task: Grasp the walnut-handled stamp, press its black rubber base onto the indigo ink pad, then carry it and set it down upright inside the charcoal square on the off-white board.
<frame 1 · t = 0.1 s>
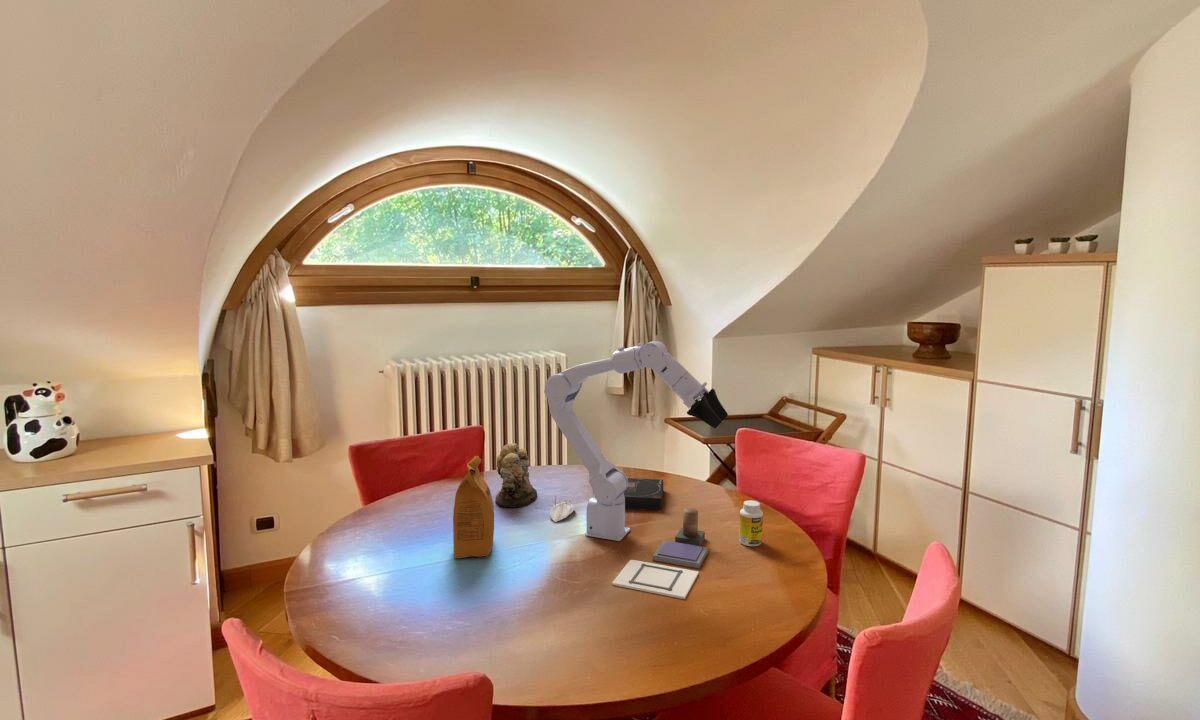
hand: (721, 421, 148), 32 cm above the table, tool tilted 50°, fingers open, 7 cm apart
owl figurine: (516, 499, 188), on the table
ink pad: (680, 556, 150), on the table
stamp: (690, 541, 158), on the table
portable cd player: (633, 501, 188), on the table
marked board: (656, 579, 139), on the table
supplement bottle: (750, 543, 158), on the table
pincushion: (562, 516, 176), on the table
coffee package: (475, 550, 154), on the table
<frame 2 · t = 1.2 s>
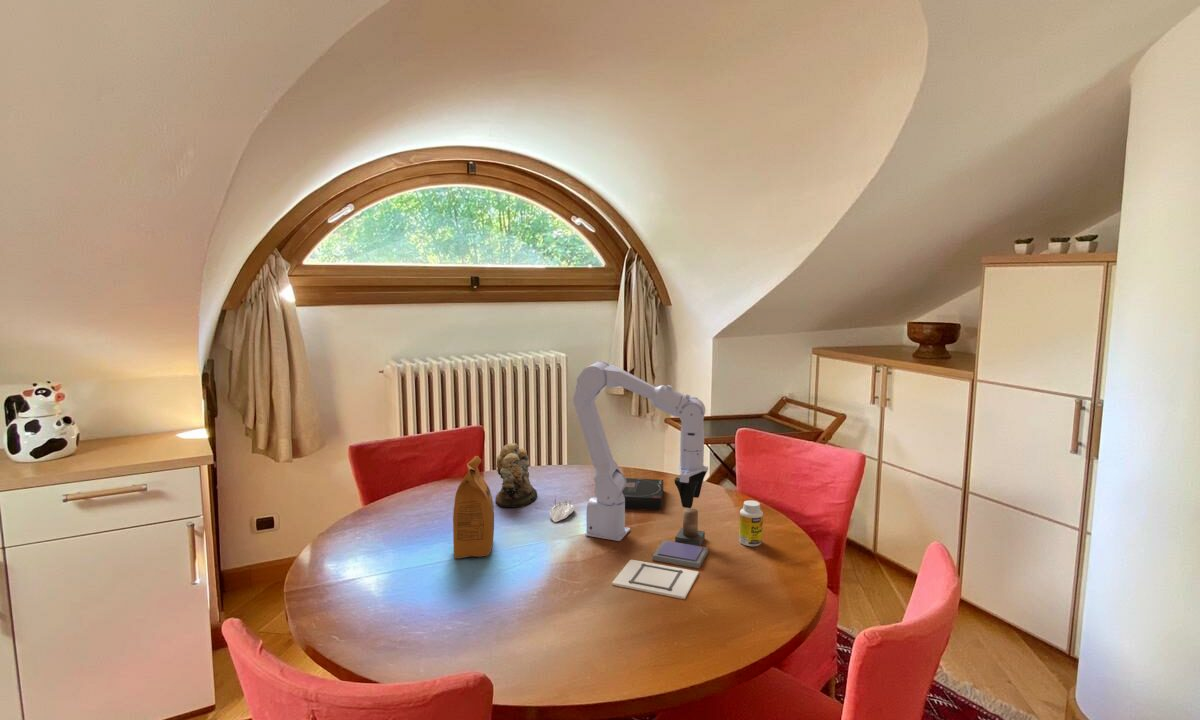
hand: (690, 502, 157), 10 cm above the table, tool pointing down, fingers open, 7 cm apart
nothing on the table moved.
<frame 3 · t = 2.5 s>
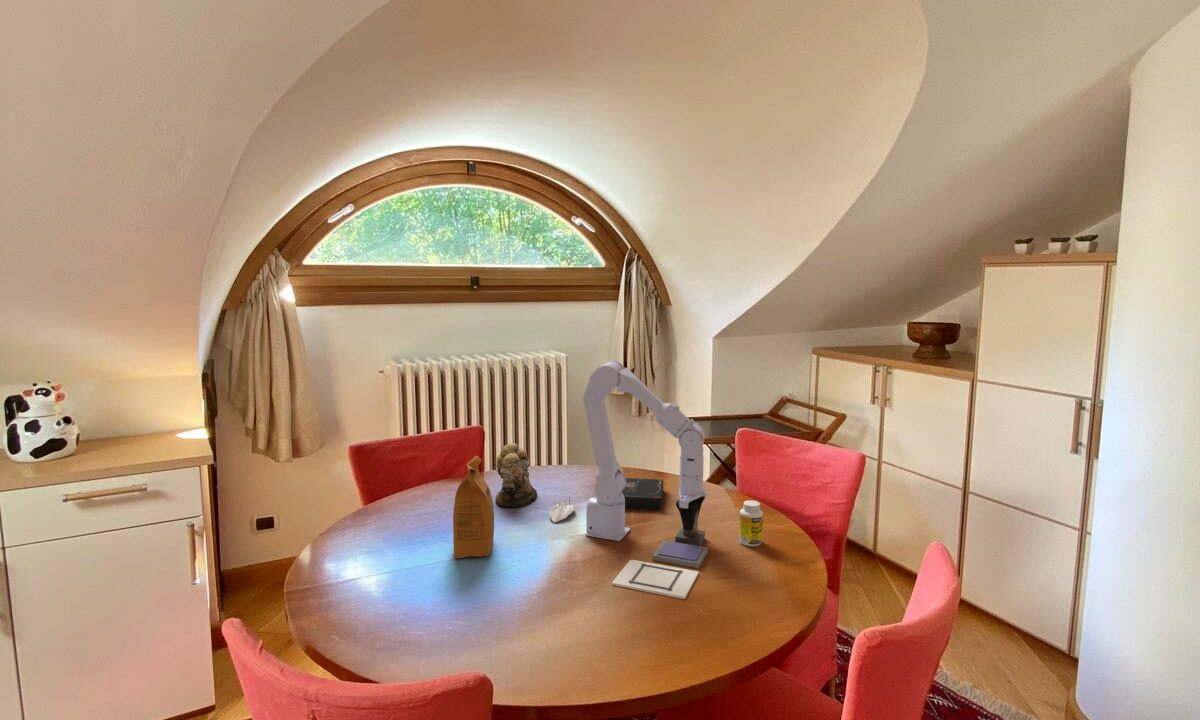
hand: (690, 526, 158), 4 cm above the table, tool pointing down, fingers closed on stamp, 4 cm apart
stamp: (690, 541, 158), on the table, touching gripper
everything else where it was.
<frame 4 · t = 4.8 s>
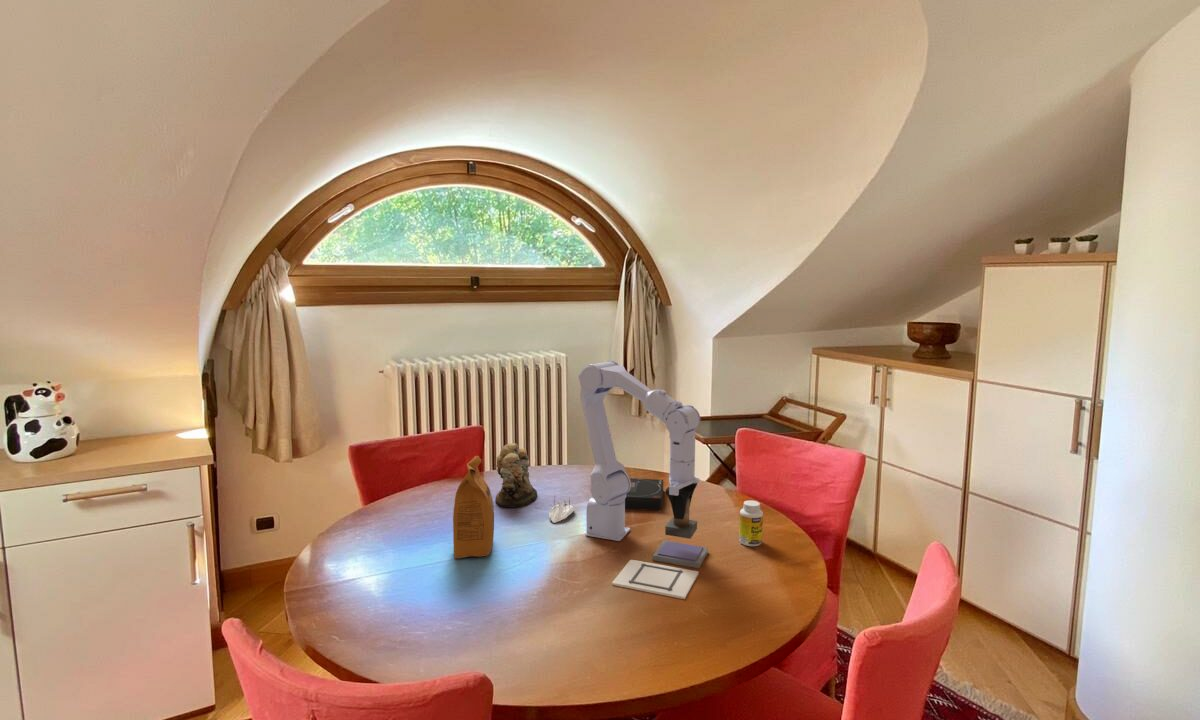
hand: (681, 515, 149), 10 cm above the table, tool pointing down, fingers closed on stamp, 4 cm apart
stamp: (681, 531, 149), point 6 cm above the table, touching gripper
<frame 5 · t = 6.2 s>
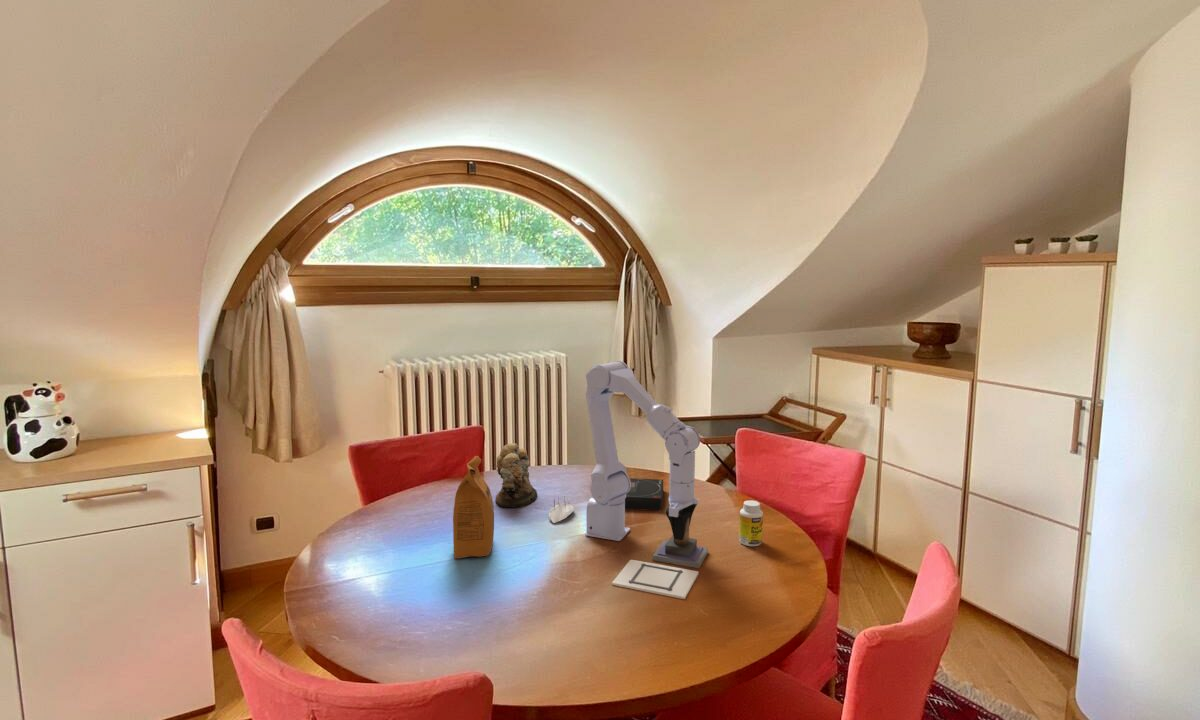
hand: (681, 535, 149), 5 cm above the table, tool pointing down, fingers closed on stamp, 4 cm apart
stamp: (681, 550, 150), point 1 cm above the table, touching gripper, ink pad
everything else where it was.
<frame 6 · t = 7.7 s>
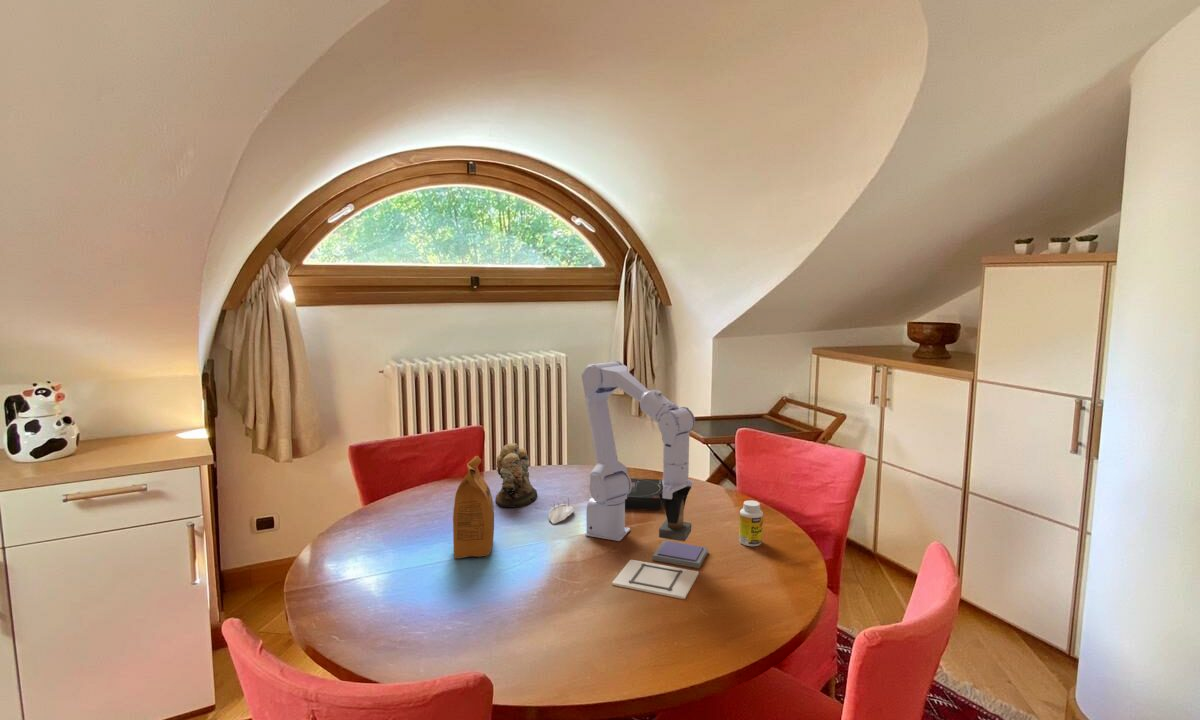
hand: (675, 519, 145), 10 cm above the table, tool pointing down, fingers closed on stamp, 4 cm apart
stamp: (675, 534, 146), point 7 cm above the table, touching gripper
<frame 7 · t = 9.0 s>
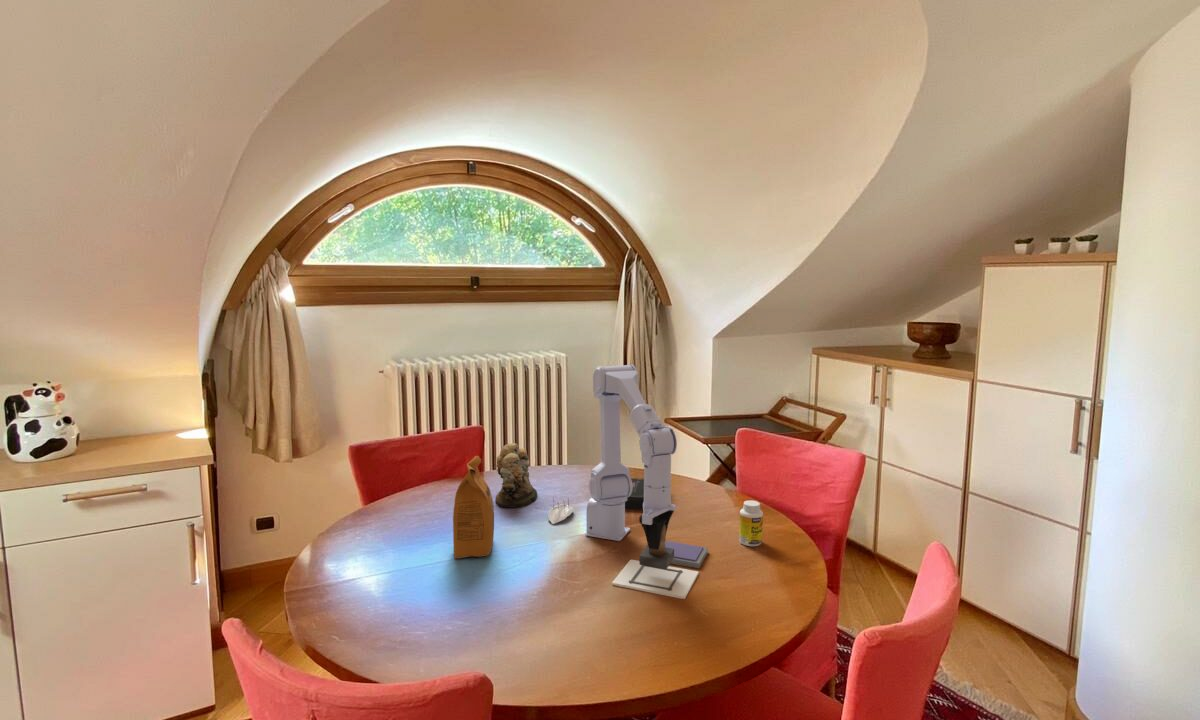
hand: (656, 544, 138), 8 cm above the table, tool pointing down, fingers closed on stamp, 4 cm apart
stamp: (656, 560, 138), point 4 cm above the table, touching gripper
when the fingers open (6 cm above the table, at t = 9.8 s): stamp drops 2 cm, resting on marked board.
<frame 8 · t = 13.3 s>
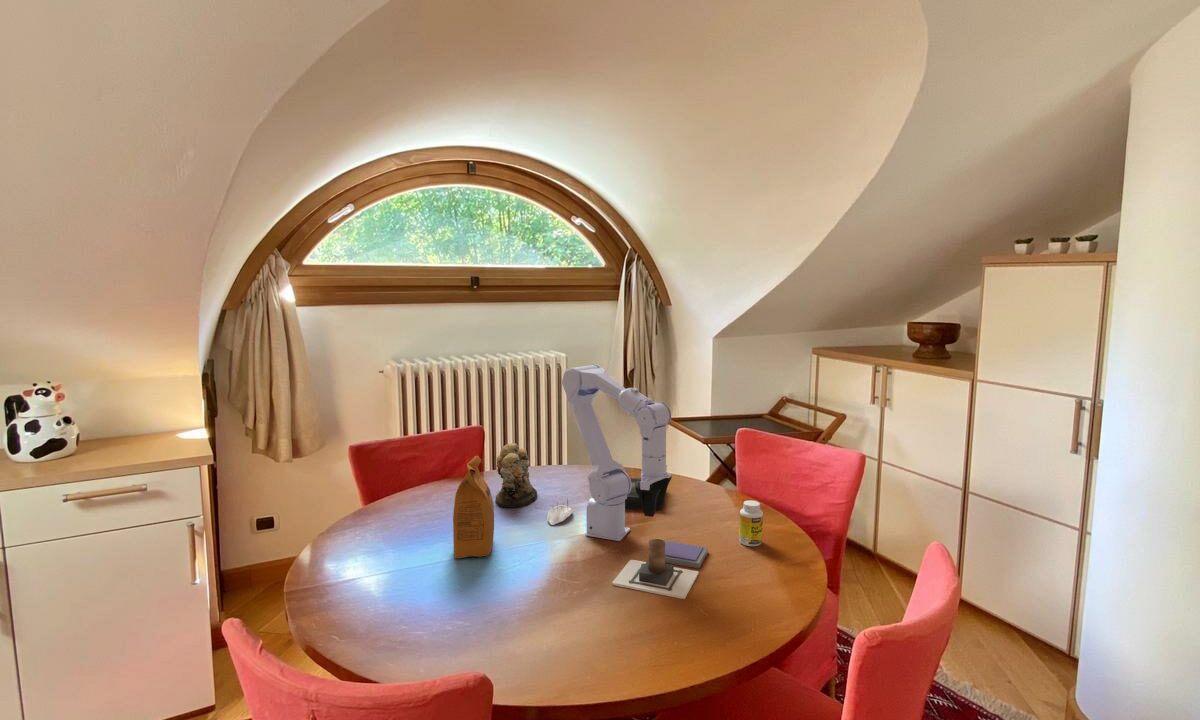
hand: (654, 510, 151), 10 cm above the table, tool pointing down, fingers open, 7 cm apart
stamp: (656, 577, 139), resting on marked board
at the end: stamp 0.1 cm off-centre on the marked board, point 0.5 cm above the marked board's base; stamp tilted 0°; the gripper is holding nothing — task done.
